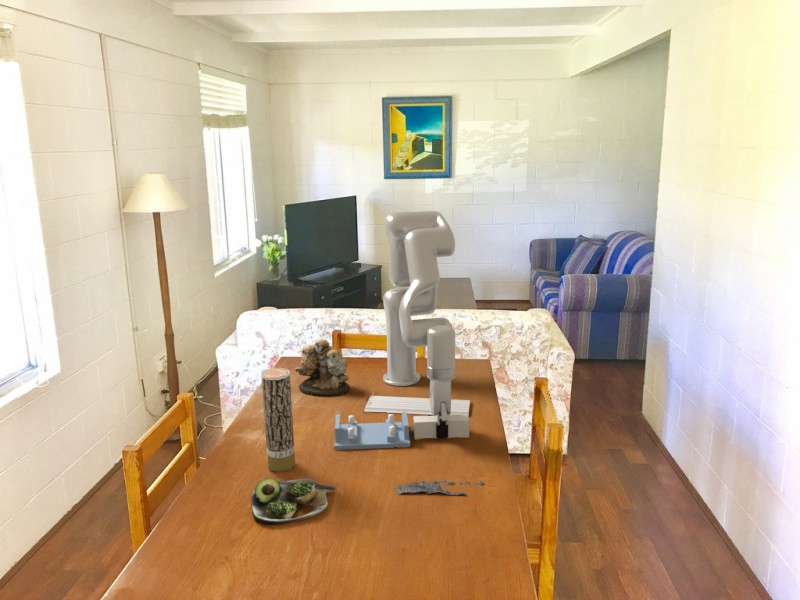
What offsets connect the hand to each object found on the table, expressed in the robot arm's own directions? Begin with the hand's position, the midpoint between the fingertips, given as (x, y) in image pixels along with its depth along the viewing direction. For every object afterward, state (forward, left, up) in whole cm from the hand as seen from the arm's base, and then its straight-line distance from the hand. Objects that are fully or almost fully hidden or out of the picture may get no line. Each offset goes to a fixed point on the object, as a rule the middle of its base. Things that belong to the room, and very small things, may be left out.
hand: (441, 433), depth 181 cm
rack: (0, -19, 0) cm, 19 cm away
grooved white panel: (-18, -5, -1) cm, 19 cm away
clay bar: (0, 0, 0) cm, 0 cm away
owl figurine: (-36, -34, -1) cm, 50 cm away
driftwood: (+28, -4, -1) cm, 28 cm away
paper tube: (+14, -42, -1) cm, 44 cm away
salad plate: (+31, -39, -1) cm, 50 cm away
